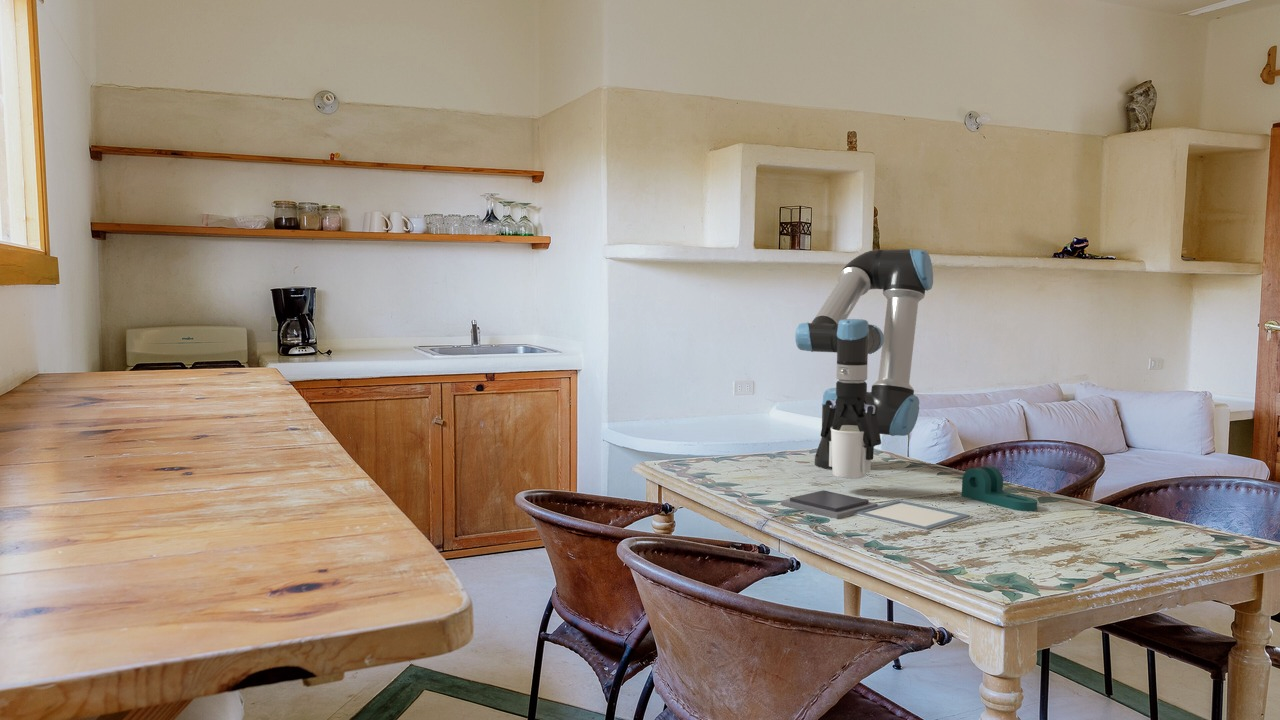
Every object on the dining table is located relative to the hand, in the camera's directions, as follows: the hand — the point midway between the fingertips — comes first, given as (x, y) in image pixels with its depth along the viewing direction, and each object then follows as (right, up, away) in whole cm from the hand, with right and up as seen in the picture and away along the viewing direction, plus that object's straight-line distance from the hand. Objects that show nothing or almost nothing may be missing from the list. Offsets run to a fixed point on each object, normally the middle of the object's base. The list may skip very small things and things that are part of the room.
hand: (849, 468), depth 224 cm
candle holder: (0, -2, 0) cm, 2 cm away
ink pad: (-8, -7, -15) cm, 19 cm away
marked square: (+9, -8, -23) cm, 26 cm away
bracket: (+35, -8, -8) cm, 37 cm away
